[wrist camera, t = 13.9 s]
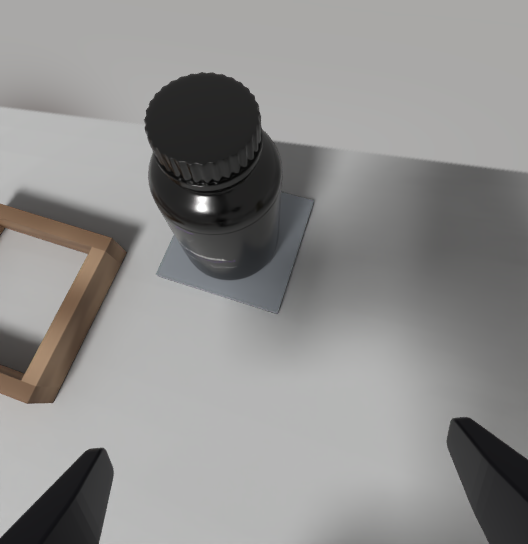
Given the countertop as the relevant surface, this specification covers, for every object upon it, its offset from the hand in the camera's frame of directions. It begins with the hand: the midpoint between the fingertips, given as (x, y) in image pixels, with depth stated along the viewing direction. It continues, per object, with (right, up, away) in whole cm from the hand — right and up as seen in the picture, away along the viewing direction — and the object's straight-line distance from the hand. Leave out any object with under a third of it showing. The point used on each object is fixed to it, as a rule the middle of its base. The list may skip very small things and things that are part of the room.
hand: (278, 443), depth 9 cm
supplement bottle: (-3, +7, +17) cm, 18 cm away
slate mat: (-2, +7, +17) cm, 18 cm away
